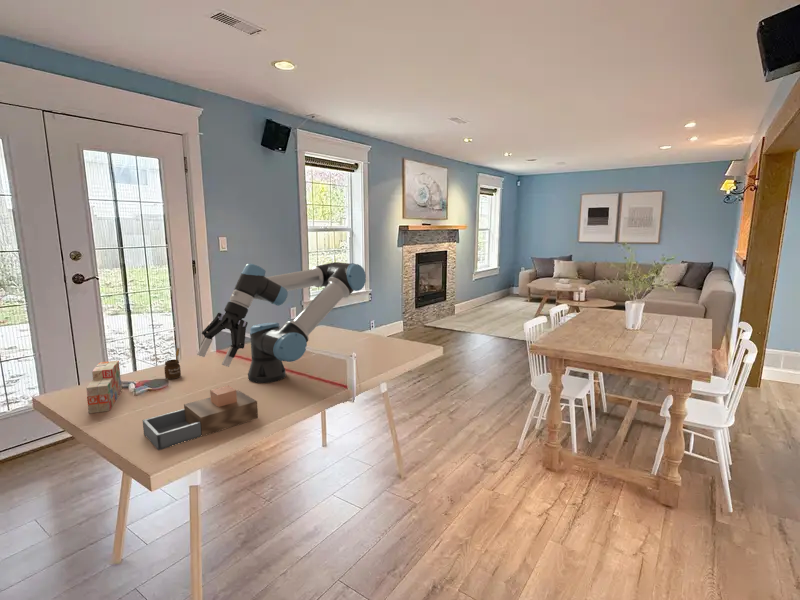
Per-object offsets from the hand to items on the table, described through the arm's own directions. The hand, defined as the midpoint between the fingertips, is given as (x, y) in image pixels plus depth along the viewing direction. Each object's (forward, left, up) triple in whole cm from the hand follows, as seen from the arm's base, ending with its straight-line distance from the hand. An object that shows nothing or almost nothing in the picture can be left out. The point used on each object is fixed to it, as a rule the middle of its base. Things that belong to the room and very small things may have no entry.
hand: (212, 360), depth 150 cm
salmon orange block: (+2, +13, -11) cm, 17 cm away
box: (+18, +13, -17) cm, 28 cm away
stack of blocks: (+26, -32, -17) cm, 45 cm away
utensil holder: (0, -43, -17) cm, 46 cm away
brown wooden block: (+3, +13, -17) cm, 21 cm away
